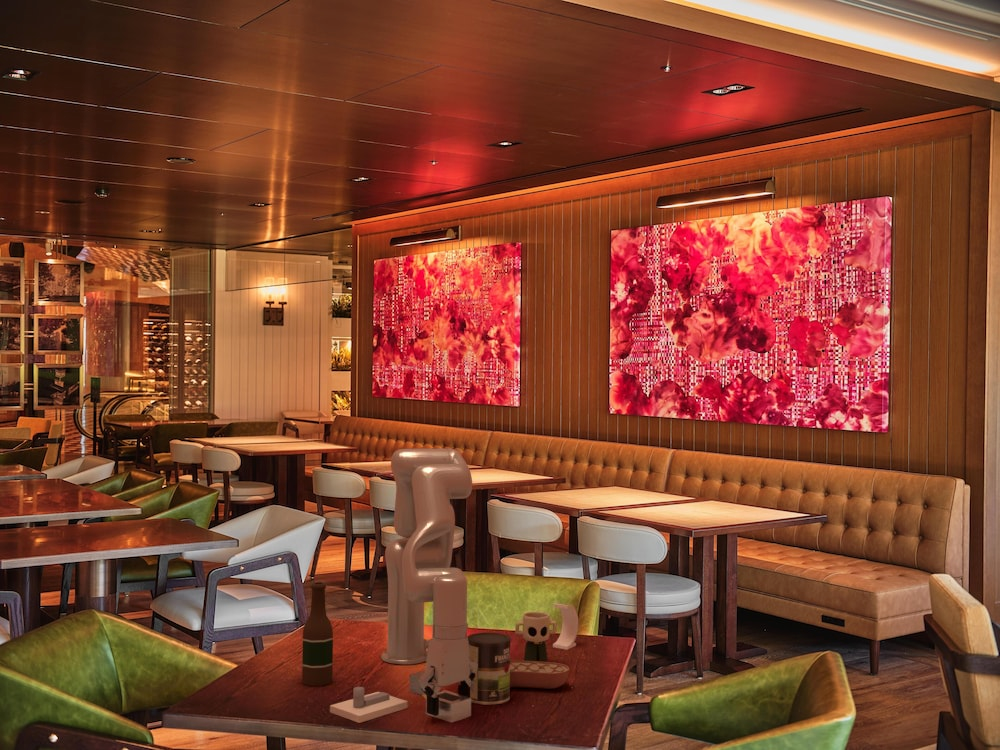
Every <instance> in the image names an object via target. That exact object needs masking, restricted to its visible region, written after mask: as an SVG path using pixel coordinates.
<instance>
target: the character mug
mask: <svg viewBox="0 0 1000 750" xmlns="http://www.w3.org/2000/svg"><path fill="white" fill-rule="evenodd" d="M550 619H551V618H550V614H549V613H547V612H544V611H542V612H541V611H528V612H524V613H523V614H522V621H517V622H515V623H514V624H515V625H514V626H515V628H514V629H515V634H516V635H518V636H519V635H521V636H522V638H523V639H524V640H525V641H526V643H525V649H524V656H523V661H538V662H548V651H547V644H546V641H548V640H549V639H550V635H555V634H557V629H558V628H557V624H558V623H557V621H555V620H550ZM550 625H551V626H552V629H550V627H551V626H550ZM520 626H522V630H520Z"/></svg>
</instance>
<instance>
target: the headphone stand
mask: <svg viewBox="0 0 1000 750" xmlns="http://www.w3.org/2000/svg"><path fill="white" fill-rule="evenodd" d="M553 607H554V608H558V610H560V613H561V617H562V625H561V630H560V631H561V632H560V634H559V637H558V638H557V640H556V641H555V642H554V643H552V648H556V649H561V650H567V651H568V650H569V649H572V648H575V647H576V646H577V642H575V641H576V638H577V636H578V628H579V617H578V616H579V615H578V612H577V610H576V609H575V607H574V606H573V605H569V604H568V605H567V604H561V603H556V602H555V603H553Z"/></svg>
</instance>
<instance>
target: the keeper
mask: <svg viewBox="0 0 1000 750" xmlns="http://www.w3.org/2000/svg"><path fill="white" fill-rule="evenodd" d="M352 691H353V696H352V697H353V698H352V699H347V700H344V701H340V702H338V703H334V704H331V705H329V713H331V714H332V715H337V716H339V717H341V718H344V719H347V720H350V721H353V722H355V723H359V724H360V723H363V722H367V721H371V720H373V719H376V718H380V717H383V716H387V715H390V714H393V713H396V712H399V711H402V710H406V709H407V708H408V700H406V699H405V700H404V699H402V698H398V697H396V696H392V695H390V693H388V692H384V691H381V692H380V691H375V692H373V693H369V694H365V687H363V686H355V687H353V690H352Z"/></svg>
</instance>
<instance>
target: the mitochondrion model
mask: <svg viewBox="0 0 1000 750" xmlns="http://www.w3.org/2000/svg"><path fill="white" fill-rule="evenodd" d="M569 674H570V667H569V666H568V665H567V664H563V663H558V662H551V661H550V662H549V661H547V662H538V661H524V660H510V688H523V689H524V688H525V689H526V688H529V689H542V690H543V689H544V690H554V689H557V688H560V687H561V686H563V685H564V684H565V683H566V681H567V679H568V677H569Z"/></svg>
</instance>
